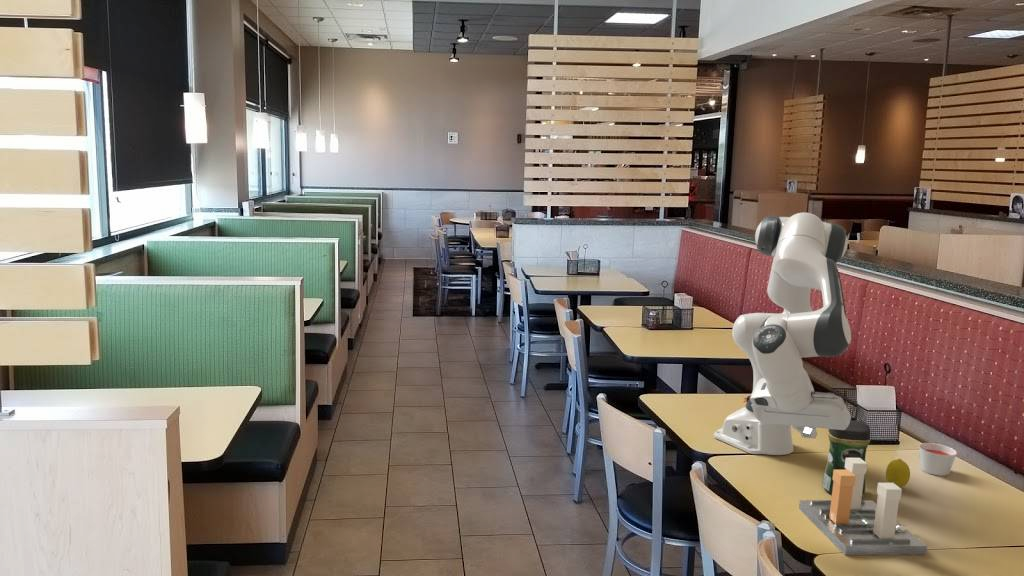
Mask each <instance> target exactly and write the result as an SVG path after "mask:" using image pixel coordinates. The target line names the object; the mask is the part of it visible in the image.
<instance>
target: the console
mask: <svg viewBox="0 0 1024 576" xmlns="http://www.w3.org/2000/svg"><path fill="white" fill-rule="evenodd" d="M798 504H799V505H798V509H799V510H800V511H801V512H802V513H803V514H804V515H805V516H806V518H808V519H809V520H810V521H811V523H813V524H814V525H815V526H816V527H817V529H819V530H820V531H821V533H823V534H824V535H825V537H826V538H827V539H828V540H829V541H830V542H832V543H833V545H835V546H836V548H837V549H839V551H841V553H842V554H843V555H844V554H845V555H844V556H901V555H902V556H906V555H907V556H910V555H911V556H913V555H914V556H919V555H920V556H921V555H922V556H923V555H924V556H926V555H927V550H928V549H927V548H928V545H926V544H925V543H924V542H923V541H922V540H920V539H919V538H918V537H917V536H916V535H915V534H913V533H912V532H911V531H910V530H908V527H907V525H905V524H903V523H900V522H899V521H897V520H896V527H895V534H894V539H880V538H879V537H878V536H877V535H876V534H874V533H873V529H874V521H875V514H876V506H877V502H875V501H873V500H870V499H869V500H867V499H866V500H862V499H861V507H860V509H850V516H849V523H834V522H833V521H832V520H831V519H830V518H829V515H830V507H831V499H830V500H829V499H828V500H821V499H819V500H818V499H817V500H815V499H814V500H812V499H811V500H810V499H809V500H807V499H806V500H804V499H803V500H801V499H800V500H799V503H798Z"/></svg>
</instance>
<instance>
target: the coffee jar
mask: <svg viewBox="0 0 1024 576" xmlns="http://www.w3.org/2000/svg"><path fill="white" fill-rule="evenodd" d="M827 432H828V433H827V436H828V439H829V449H828V450H829V451H828V456H827V461H826V464H825V469H824V473H823V480H822V486H823V488H824V490H825V491H826V492H828V493H829V494H831V495H832V490H833V480H832V479H833V470H846V468H845V460H846V458H861V459H862V460H863V461H865V462H866V453H867V449H868V446H869V445H870V443H871V429H870V425H869V424H868V423H867V422H865V421H864V420H862V421H861V420H853V419H851V420H850V423H849V425H848V427H847V428H846V429H845V430H837V429H828V431H827ZM865 491H866V474H865V475H864V483H863V491H862V496H864V494H865V493H866V492H865Z"/></svg>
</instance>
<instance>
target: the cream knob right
mask: <svg viewBox="0 0 1024 576" xmlns="http://www.w3.org/2000/svg"><path fill="white" fill-rule="evenodd" d="M902 491H903V489H902V487H898V486H897V485H895V484H894V483H889V482H877V489H876V494H877V498H876V499H877V500H876V504H877V506H876V514H875V521H874V529H873V533H874V534H876V535H877V536H878V537H879V538H880V539H894V534H895V527H896V521H897V518H898V510H899V502H900V501H901V499H902Z"/></svg>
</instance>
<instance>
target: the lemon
mask: <svg viewBox="0 0 1024 576" xmlns="http://www.w3.org/2000/svg"><path fill="white" fill-rule="evenodd" d="M910 477H911V469H910V467H909V465H908V463H907V462H906V461H903V460H902V459H901V458H898V459H894V460H891V461H890V462H889V463H888V465H887V466H886V470H885V478H886V481H887V483H894V484H895V485H897V486H898V487H899V488H903V487H905V486H906V485H907V484H908V483H909V481H910Z"/></svg>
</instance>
